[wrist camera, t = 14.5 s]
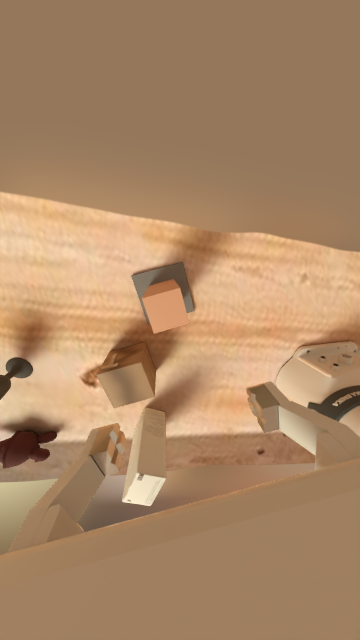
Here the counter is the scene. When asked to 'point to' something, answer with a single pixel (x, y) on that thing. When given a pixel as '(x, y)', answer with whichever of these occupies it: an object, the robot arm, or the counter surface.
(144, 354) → the lettered block
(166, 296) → the terracotta pillar
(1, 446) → the icecream
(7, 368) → the sundae
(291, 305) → the counter surface
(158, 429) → the skincare box
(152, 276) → the grey mat
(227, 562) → the robot arm
